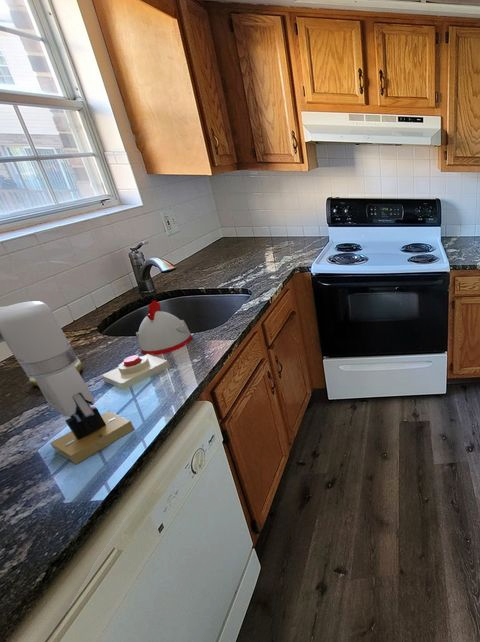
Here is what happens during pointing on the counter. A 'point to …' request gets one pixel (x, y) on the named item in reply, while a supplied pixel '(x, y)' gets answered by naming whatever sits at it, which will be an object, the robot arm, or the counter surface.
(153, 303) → the kitchen timer
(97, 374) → the counter surface
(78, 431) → the lock knob
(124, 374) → the block
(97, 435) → the plate
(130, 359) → the bell button
